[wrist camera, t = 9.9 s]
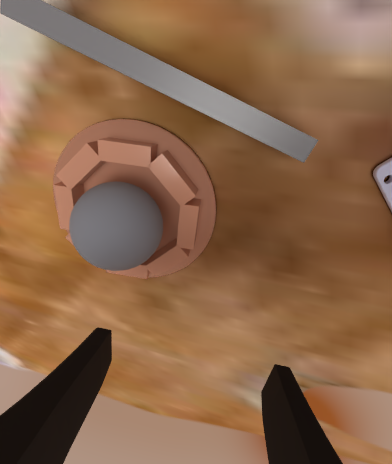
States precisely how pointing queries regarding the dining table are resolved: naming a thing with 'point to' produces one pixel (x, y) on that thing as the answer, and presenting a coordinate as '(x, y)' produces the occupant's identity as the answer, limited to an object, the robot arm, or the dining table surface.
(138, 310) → the dining table surface
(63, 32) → the low wall
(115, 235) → the ball
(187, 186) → the bowl
